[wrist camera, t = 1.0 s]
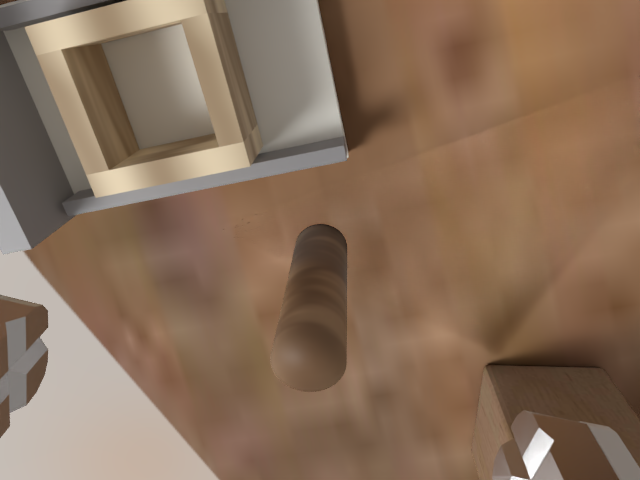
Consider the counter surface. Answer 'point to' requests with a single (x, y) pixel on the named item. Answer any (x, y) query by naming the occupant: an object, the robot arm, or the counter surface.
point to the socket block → (107, 107)
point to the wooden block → (547, 405)
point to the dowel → (313, 313)
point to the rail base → (160, 108)
